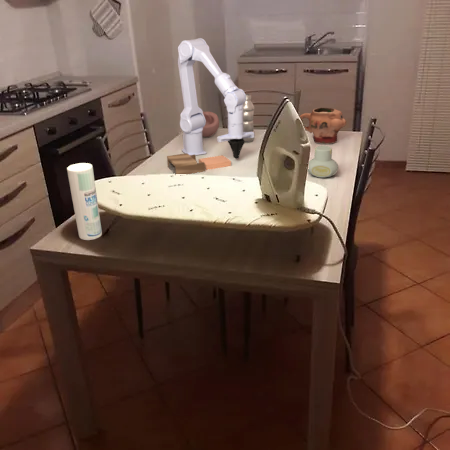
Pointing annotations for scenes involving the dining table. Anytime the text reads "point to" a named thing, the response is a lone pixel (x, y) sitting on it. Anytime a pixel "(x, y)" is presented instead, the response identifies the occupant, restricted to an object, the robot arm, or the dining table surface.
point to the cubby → (184, 164)
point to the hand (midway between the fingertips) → (236, 157)
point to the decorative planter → (324, 124)
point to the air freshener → (323, 163)
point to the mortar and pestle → (210, 124)
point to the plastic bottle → (248, 117)
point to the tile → (215, 162)
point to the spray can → (85, 200)
